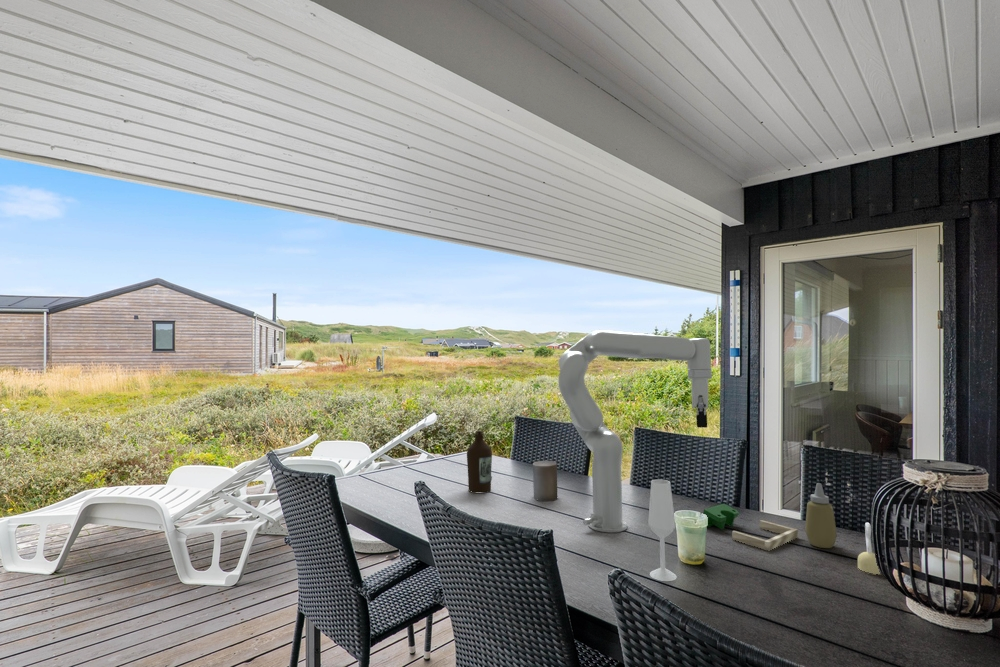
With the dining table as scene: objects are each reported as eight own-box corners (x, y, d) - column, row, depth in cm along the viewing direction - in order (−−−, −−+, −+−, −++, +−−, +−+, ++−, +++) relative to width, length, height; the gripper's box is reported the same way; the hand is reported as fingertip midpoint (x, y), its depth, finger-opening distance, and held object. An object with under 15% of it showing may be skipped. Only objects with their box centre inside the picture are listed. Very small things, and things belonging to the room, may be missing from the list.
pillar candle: (561, 496, 203) (560, 458, 204) (550, 502, 195) (549, 463, 196) (540, 493, 209) (539, 456, 209) (528, 499, 200) (527, 461, 201)
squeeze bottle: (833, 541, 152) (830, 481, 153) (841, 551, 145) (839, 488, 145) (802, 538, 155) (800, 479, 156) (809, 548, 147) (806, 486, 148)
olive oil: (462, 490, 214) (461, 431, 215) (480, 485, 221) (480, 428, 222) (478, 495, 206) (478, 433, 207) (497, 490, 214) (496, 430, 215)
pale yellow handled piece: (883, 576, 129) (881, 528, 129) (858, 571, 132) (856, 525, 132) (881, 567, 134) (879, 521, 134) (856, 563, 137) (855, 518, 137)
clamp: (718, 543, 164) (716, 521, 161) (702, 533, 169) (700, 512, 165) (740, 522, 169) (739, 501, 166) (724, 514, 174) (723, 493, 171)
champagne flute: (655, 567, 136) (653, 477, 137) (680, 574, 131) (678, 481, 132) (645, 576, 131) (643, 482, 131) (670, 583, 126) (668, 486, 127)
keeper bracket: (769, 551, 146) (768, 542, 146) (732, 539, 155) (731, 531, 155) (798, 537, 156) (797, 529, 156) (761, 527, 165) (761, 519, 165)
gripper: (688, 373, 181) (690, 421, 181) (687, 376, 165) (689, 428, 165) (711, 372, 179) (713, 421, 178) (712, 375, 162) (714, 429, 162)
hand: (702, 425), depth 171 cm, fingers open, 9 cm apart
